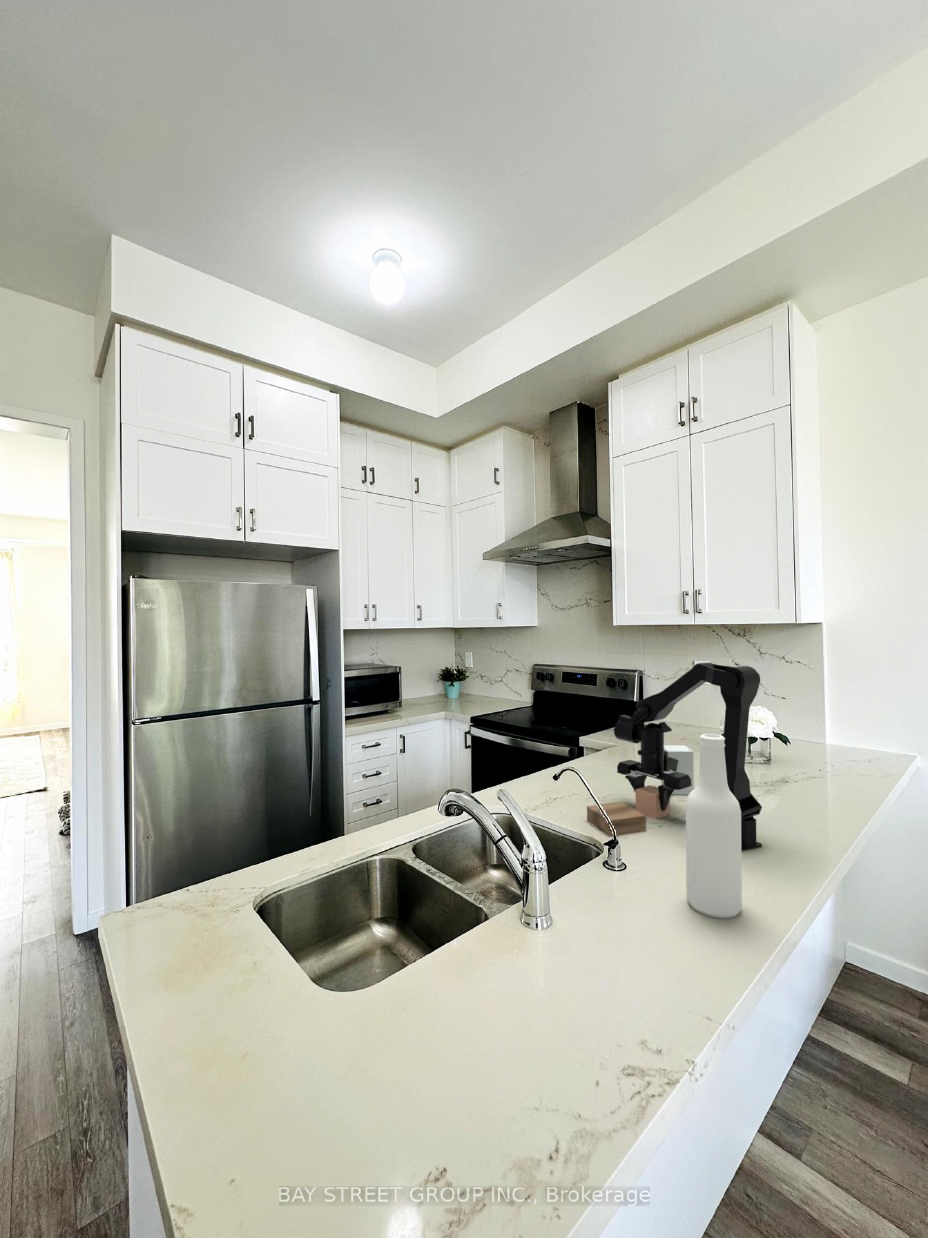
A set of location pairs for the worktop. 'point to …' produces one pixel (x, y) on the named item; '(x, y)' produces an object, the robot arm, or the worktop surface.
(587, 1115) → the worktop surface
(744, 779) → the robot arm
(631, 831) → the walnut block
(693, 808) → the alcohol
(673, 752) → the supplement box
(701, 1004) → the worktop surface
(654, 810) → the terracotta cube
